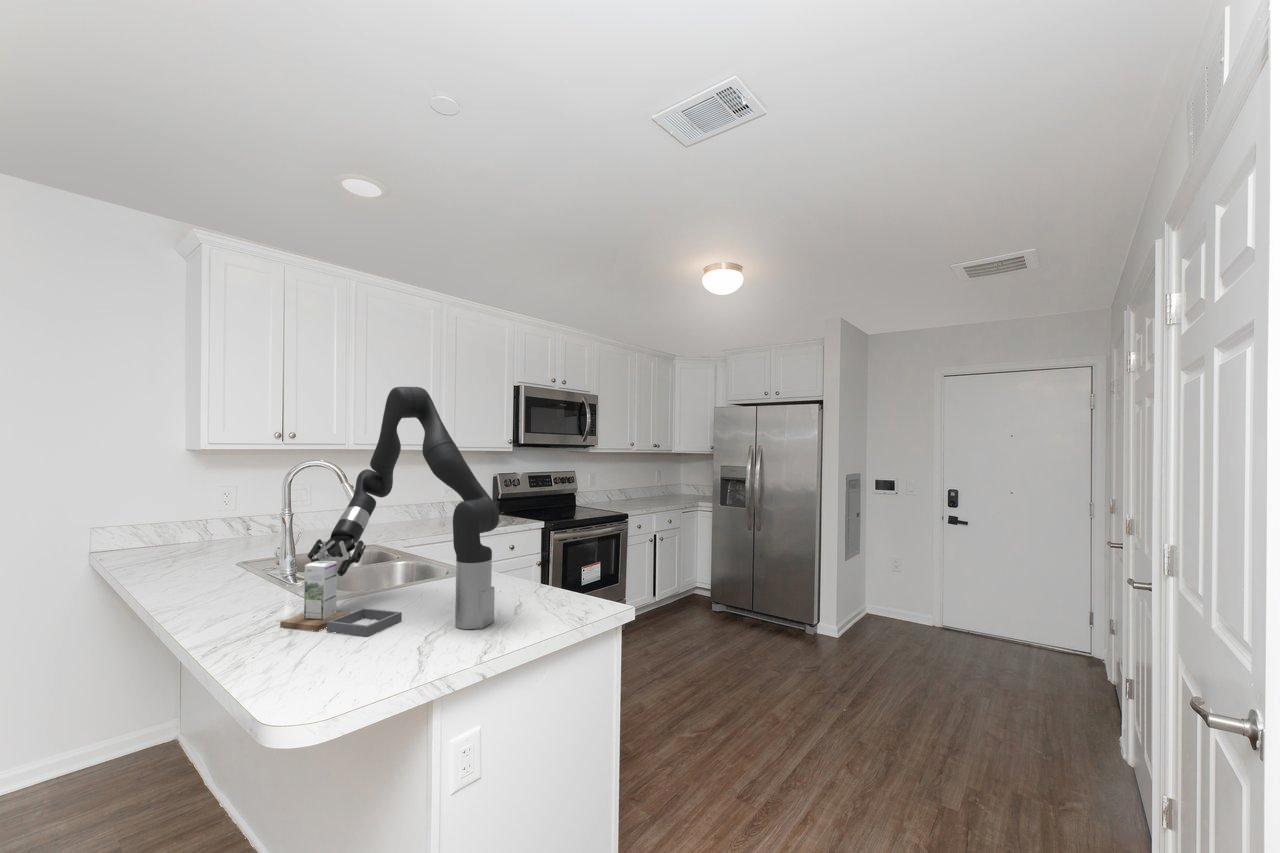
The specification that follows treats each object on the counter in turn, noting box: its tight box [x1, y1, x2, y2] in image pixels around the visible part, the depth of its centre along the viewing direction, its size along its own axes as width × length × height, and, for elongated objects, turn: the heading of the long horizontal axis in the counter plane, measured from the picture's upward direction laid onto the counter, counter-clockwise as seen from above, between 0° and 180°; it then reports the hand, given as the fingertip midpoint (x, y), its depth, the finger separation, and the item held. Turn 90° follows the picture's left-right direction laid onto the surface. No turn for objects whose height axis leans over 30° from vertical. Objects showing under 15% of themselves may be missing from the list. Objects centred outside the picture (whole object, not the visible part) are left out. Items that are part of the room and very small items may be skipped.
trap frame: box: [325, 607, 403, 638], centre depth 148 cm, size 13×13×2 cm
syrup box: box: [303, 560, 338, 620], centre depth 151 cm, size 6×6×14 cm
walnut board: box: [279, 610, 353, 632], centre depth 151 cm, size 12×12×2 cm
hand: (324, 574), depth 153 cm, fingers open, 8 cm apart
